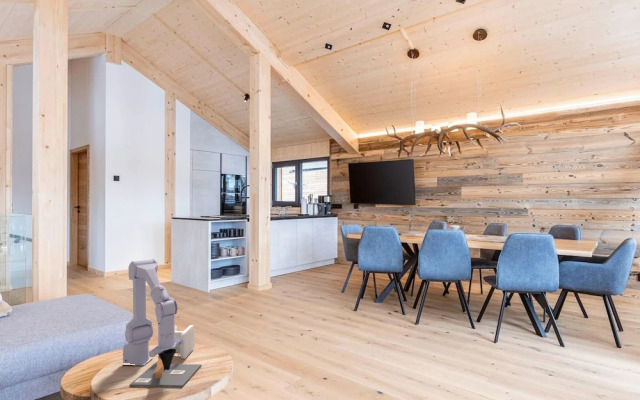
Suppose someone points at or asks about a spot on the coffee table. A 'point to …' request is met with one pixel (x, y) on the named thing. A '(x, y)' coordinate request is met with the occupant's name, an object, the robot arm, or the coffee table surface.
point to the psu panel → (167, 376)
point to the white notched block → (185, 341)
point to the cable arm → (159, 368)
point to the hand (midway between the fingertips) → (166, 369)
